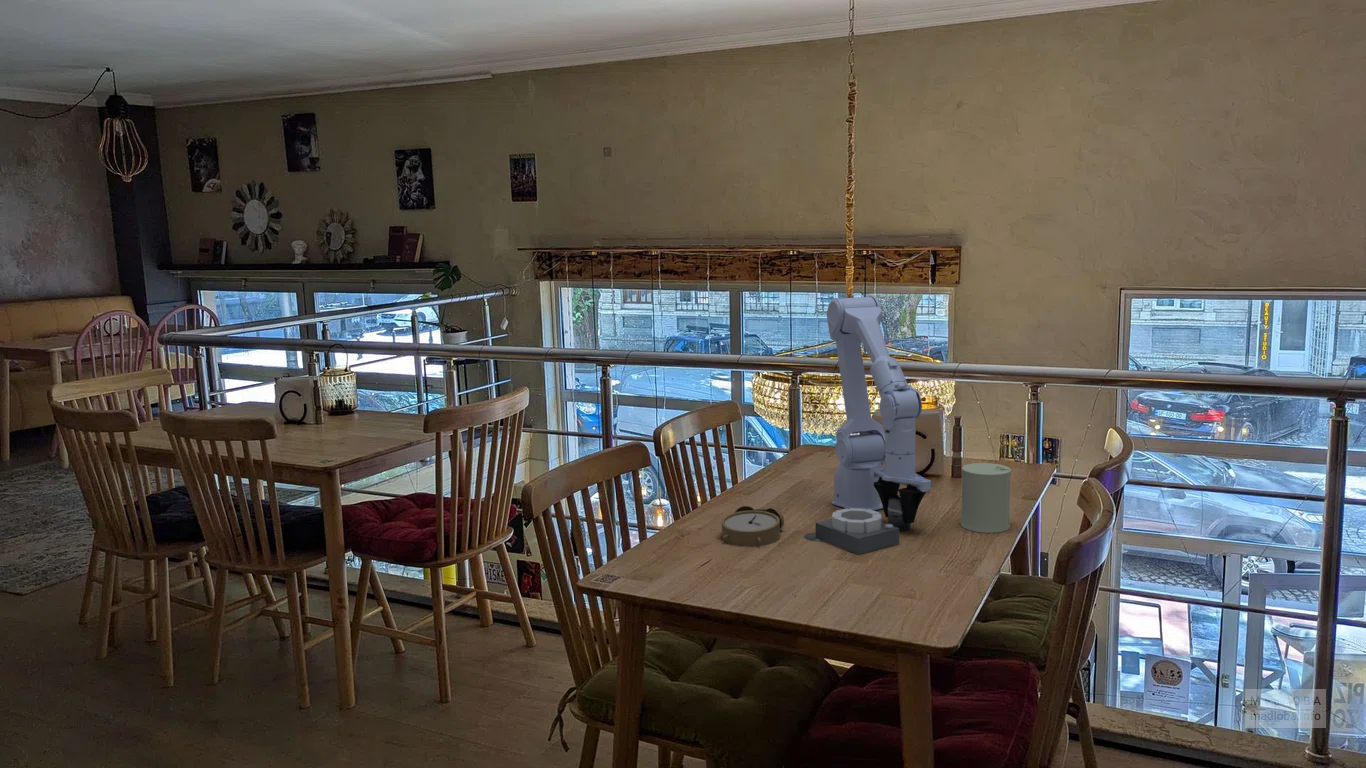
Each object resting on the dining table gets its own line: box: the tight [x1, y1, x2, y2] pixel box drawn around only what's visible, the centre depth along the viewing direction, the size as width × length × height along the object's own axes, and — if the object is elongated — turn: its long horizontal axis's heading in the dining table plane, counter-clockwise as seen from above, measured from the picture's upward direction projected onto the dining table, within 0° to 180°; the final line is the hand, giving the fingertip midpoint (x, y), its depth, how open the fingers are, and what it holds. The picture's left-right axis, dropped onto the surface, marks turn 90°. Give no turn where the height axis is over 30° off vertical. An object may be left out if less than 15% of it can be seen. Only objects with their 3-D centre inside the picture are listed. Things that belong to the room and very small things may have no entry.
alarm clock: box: [720, 505, 785, 547], centre depth 188 cm, size 11×5×15 cm
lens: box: [887, 494, 912, 532], centre depth 189 cm, size 5×5×6 cm
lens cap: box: [803, 531, 823, 542], centre depth 185 cm, size 5×5×1 cm
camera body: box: [815, 508, 900, 555], centre depth 182 cm, size 12×10×5 cm
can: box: [960, 462, 1012, 534], centre depth 188 cm, size 9×9×12 cm
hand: (899, 519), depth 189 cm, fingers closed on lens, 5 cm apart
